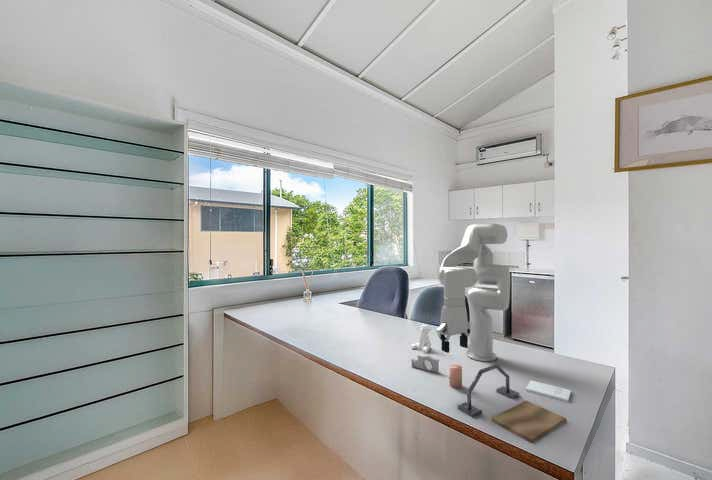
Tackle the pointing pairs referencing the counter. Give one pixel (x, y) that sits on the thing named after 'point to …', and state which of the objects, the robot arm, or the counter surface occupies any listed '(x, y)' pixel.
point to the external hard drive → (548, 391)
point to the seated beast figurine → (423, 340)
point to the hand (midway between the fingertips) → (454, 349)
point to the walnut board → (528, 420)
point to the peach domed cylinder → (455, 376)
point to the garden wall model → (421, 363)
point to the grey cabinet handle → (502, 390)
